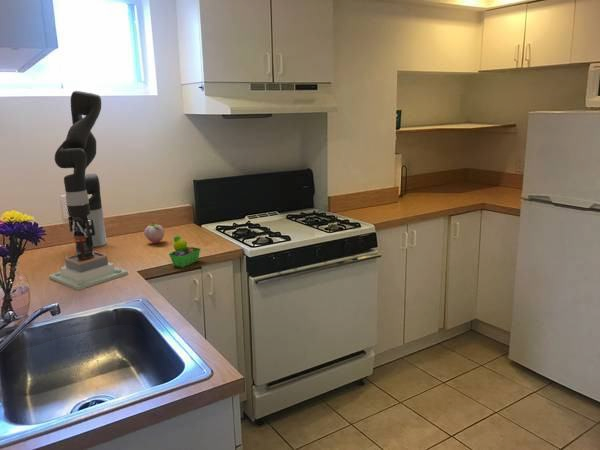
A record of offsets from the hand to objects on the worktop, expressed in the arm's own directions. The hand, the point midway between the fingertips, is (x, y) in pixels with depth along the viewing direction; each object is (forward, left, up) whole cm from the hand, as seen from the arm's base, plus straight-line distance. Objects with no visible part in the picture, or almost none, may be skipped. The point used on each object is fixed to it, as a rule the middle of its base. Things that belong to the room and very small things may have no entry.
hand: (84, 244), depth 185 cm
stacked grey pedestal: (0, 0, -13) cm, 13 cm away
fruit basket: (+19, +31, -13) cm, 39 cm away
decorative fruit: (-16, +42, -13) cm, 47 cm away
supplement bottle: (0, 0, -6) cm, 6 cm away
